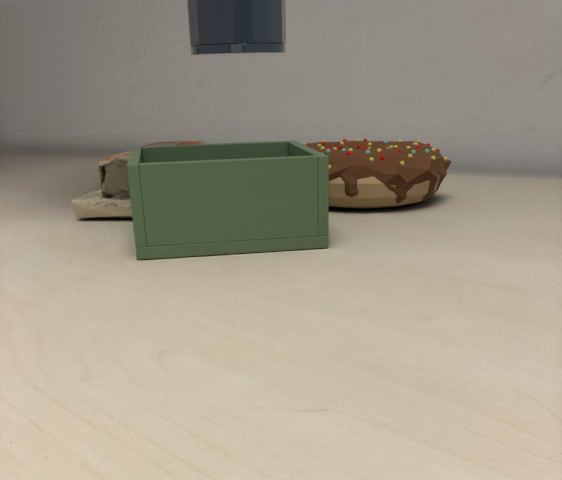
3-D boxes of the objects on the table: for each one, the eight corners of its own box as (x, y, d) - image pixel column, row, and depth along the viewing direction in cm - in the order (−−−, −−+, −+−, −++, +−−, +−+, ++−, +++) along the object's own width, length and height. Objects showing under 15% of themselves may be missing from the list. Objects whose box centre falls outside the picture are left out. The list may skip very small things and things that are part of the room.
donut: (283, 216, 56) (282, 151, 54) (291, 189, 69) (290, 136, 67) (463, 214, 56) (468, 147, 54) (438, 187, 68) (442, 132, 66)
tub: (136, 259, 44) (126, 164, 42) (139, 224, 55) (131, 147, 52) (328, 247, 46) (328, 155, 44) (296, 216, 56) (295, 140, 54)
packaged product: (134, 138, 71) (231, 137, 70) (139, 187, 73) (233, 186, 72) (63, 158, 55) (188, 157, 54) (72, 221, 57) (193, 221, 55)
